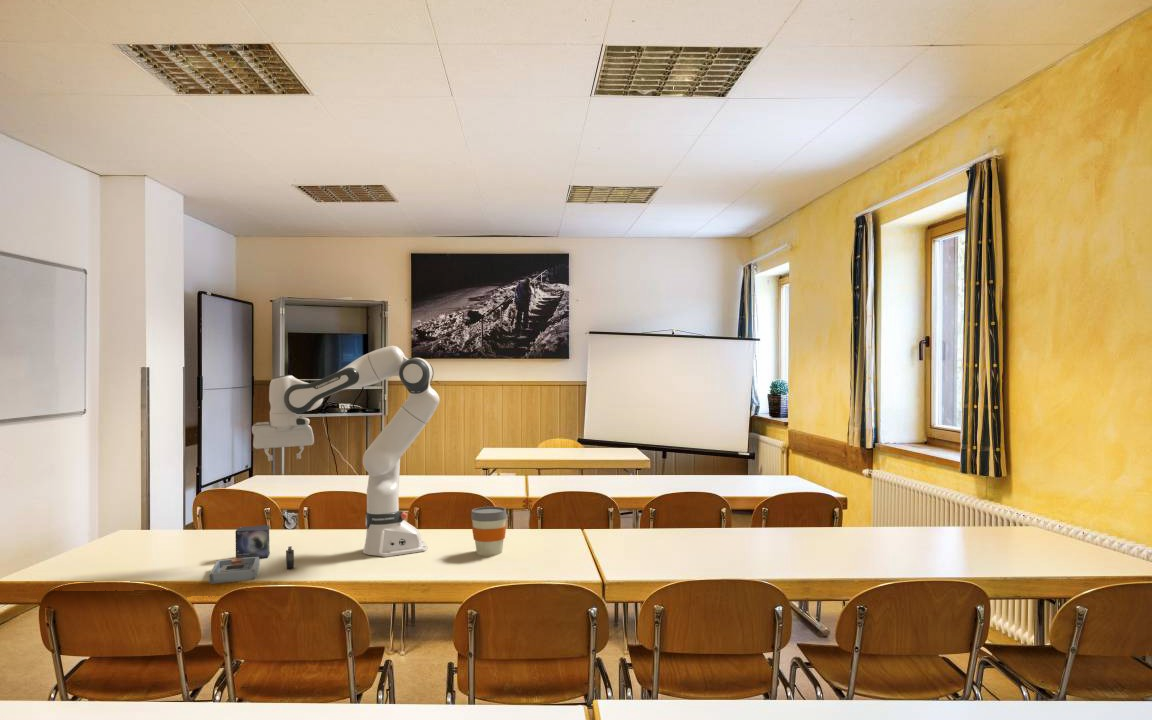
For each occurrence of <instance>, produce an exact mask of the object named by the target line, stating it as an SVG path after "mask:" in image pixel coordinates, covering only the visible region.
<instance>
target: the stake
mask: <svg viewBox="0 0 1152 720" xmlns="http://www.w3.org/2000/svg"><path fill="white" fill-rule="evenodd" d="M285 561H286V563H285V565H286V566H285V567H286V568H285V569H286V571H287V570H290V571H291V570H294V569H295V551H294V549H293V548H292V546H288V547H287V549H286V550H285Z"/></svg>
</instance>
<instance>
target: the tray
mask: <svg viewBox="0 0 1152 720" xmlns="http://www.w3.org/2000/svg"><path fill="white" fill-rule="evenodd" d="M232 559H233V558H228V559H227V558H226V559H218V560H217V559H216V562H215V564H214V565H213V566H212V569H211V571H210V573H209V584H210V585H212V584H213V585H214V584H224V583H231V582H232V583H233V582H241V581H249V580H250V581H253V580H256V578H257V575H258V572H259V568H260V559H259V557H248V558H243V564H244V563H250V570H240V571H229V572H220V570H221V568H222V566H223V565H231V561H232Z"/></svg>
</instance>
